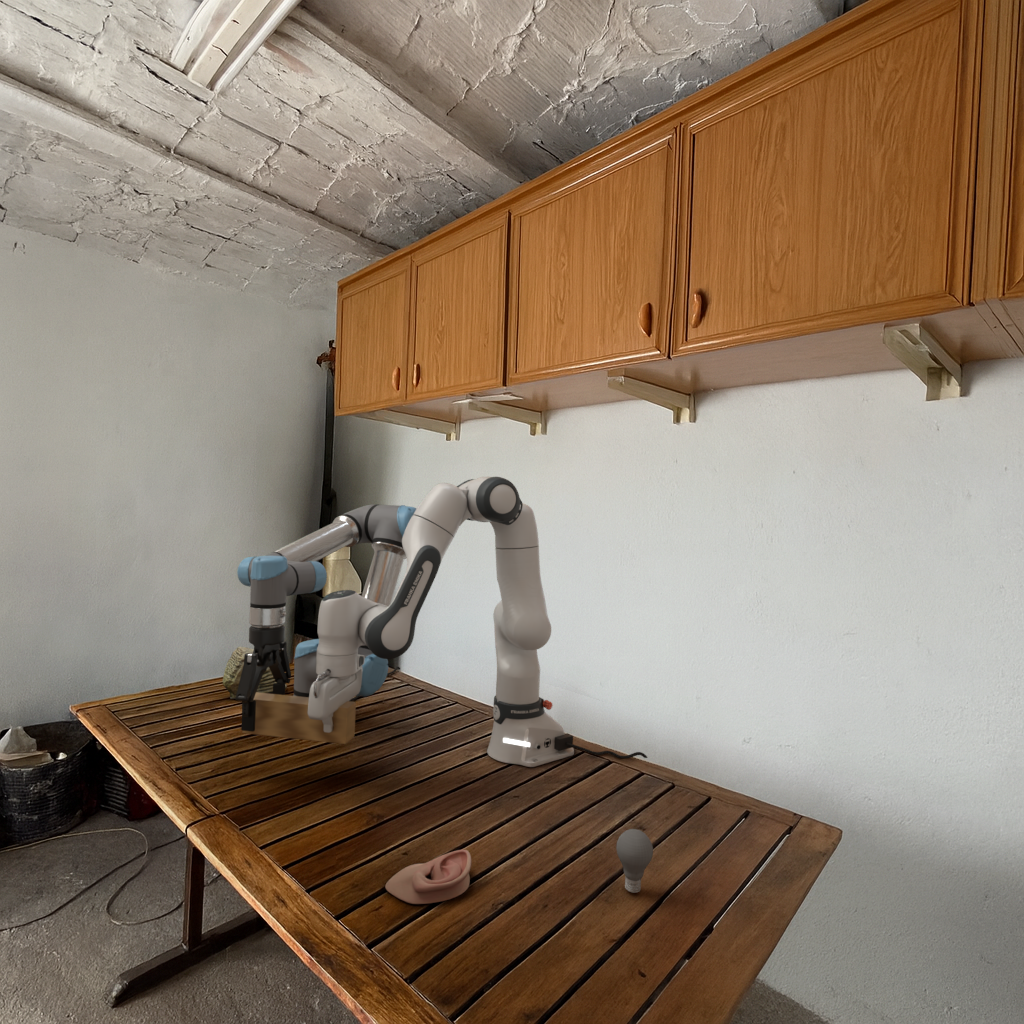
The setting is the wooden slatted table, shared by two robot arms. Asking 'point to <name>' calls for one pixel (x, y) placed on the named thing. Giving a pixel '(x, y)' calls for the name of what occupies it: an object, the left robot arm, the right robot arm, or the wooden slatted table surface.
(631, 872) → the light bulb
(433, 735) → the wooden slatted table surface
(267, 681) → the fossil
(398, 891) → the anatomical model
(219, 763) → the wooden slatted table surface
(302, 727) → the bar
